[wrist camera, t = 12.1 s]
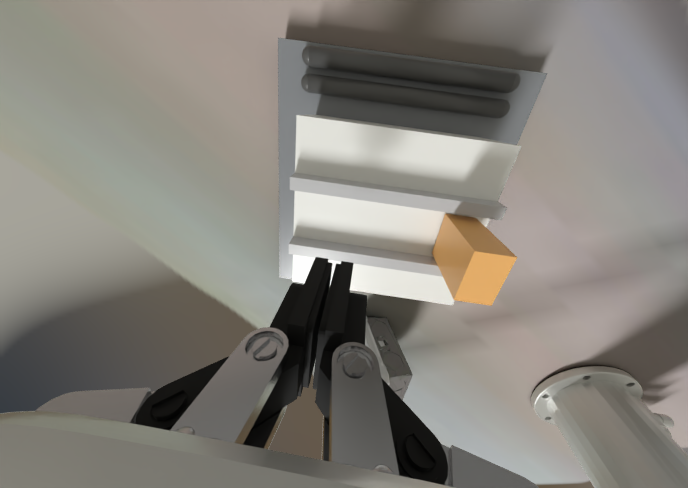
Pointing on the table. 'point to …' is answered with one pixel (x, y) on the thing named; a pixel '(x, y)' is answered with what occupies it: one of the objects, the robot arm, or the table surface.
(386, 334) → the electrical switch
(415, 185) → the block
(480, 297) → the handle
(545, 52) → the table surface
